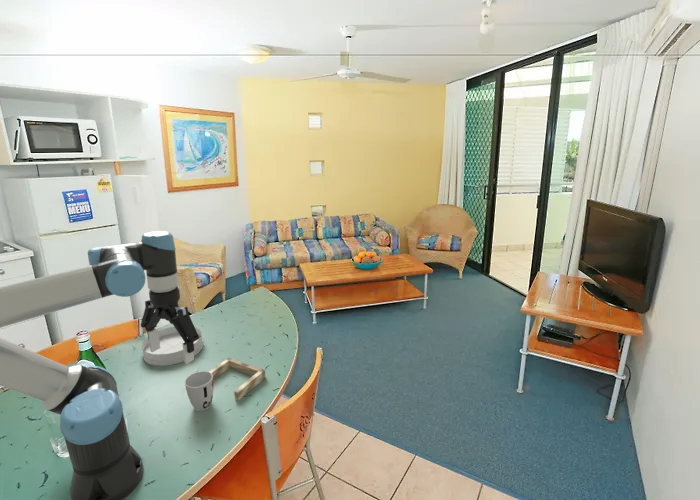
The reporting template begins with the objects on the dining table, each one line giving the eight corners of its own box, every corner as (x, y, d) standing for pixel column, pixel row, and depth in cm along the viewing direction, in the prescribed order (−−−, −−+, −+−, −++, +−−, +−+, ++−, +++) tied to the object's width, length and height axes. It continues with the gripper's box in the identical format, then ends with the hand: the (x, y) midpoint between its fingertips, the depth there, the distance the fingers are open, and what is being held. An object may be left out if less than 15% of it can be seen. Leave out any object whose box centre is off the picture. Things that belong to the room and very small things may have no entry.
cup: (207, 416, 113) (203, 389, 110) (183, 412, 114) (178, 385, 111) (220, 398, 120) (217, 372, 118) (198, 395, 122) (194, 369, 119)
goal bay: (238, 400, 120) (237, 392, 119) (201, 385, 127) (200, 377, 126) (265, 377, 131) (264, 369, 130) (229, 364, 139) (228, 357, 138)
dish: (166, 373, 134) (164, 361, 133) (131, 355, 145) (128, 344, 143) (215, 344, 152) (214, 333, 151) (180, 330, 163) (179, 320, 161)
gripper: (208, 291, 100) (214, 359, 106) (144, 275, 109) (153, 339, 115) (186, 301, 93) (193, 373, 99) (120, 284, 103) (130, 351, 109)
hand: (172, 355), depth 107 cm, fingers open, 13 cm apart
